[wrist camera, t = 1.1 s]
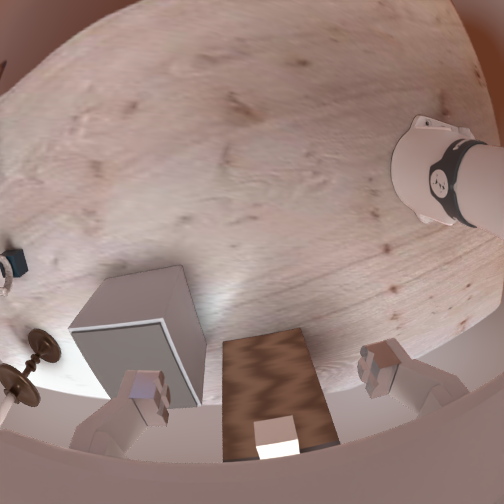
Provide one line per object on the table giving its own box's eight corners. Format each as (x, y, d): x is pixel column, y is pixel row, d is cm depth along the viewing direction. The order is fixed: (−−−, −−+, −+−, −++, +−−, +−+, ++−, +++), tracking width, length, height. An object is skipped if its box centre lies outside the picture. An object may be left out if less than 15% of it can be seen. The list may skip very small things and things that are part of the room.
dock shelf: (181, 264, 43) (162, 320, 29) (206, 344, 49) (201, 408, 35) (105, 278, 43) (66, 330, 29) (137, 351, 49) (117, 410, 35)
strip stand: (299, 327, 49) (354, 487, 20) (303, 365, 53) (345, 506, 24) (222, 341, 49) (224, 509, 20) (234, 378, 53) (242, 524, 24)
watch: (14, 279, 42) (-16, 306, 32) (3, 242, 39) (-31, 264, 29) (31, 279, 42) (0, 308, 32) (20, 240, 39) (-15, 263, 29)
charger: (292, 415, 23) (297, 439, 20) (301, 482, 28) (305, 499, 25) (253, 421, 23) (255, 446, 20) (274, 487, 28) (276, 504, 25)
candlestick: (36, 359, 49) (-23, 467, 17) (21, 322, 45) (-58, 432, 13) (70, 366, 50) (14, 491, 18) (55, 328, 46) (-24, 459, 14)
